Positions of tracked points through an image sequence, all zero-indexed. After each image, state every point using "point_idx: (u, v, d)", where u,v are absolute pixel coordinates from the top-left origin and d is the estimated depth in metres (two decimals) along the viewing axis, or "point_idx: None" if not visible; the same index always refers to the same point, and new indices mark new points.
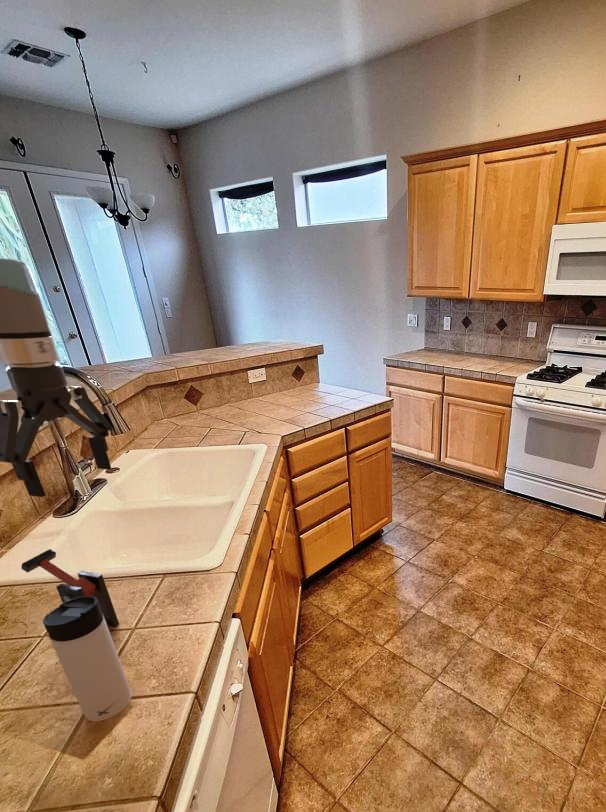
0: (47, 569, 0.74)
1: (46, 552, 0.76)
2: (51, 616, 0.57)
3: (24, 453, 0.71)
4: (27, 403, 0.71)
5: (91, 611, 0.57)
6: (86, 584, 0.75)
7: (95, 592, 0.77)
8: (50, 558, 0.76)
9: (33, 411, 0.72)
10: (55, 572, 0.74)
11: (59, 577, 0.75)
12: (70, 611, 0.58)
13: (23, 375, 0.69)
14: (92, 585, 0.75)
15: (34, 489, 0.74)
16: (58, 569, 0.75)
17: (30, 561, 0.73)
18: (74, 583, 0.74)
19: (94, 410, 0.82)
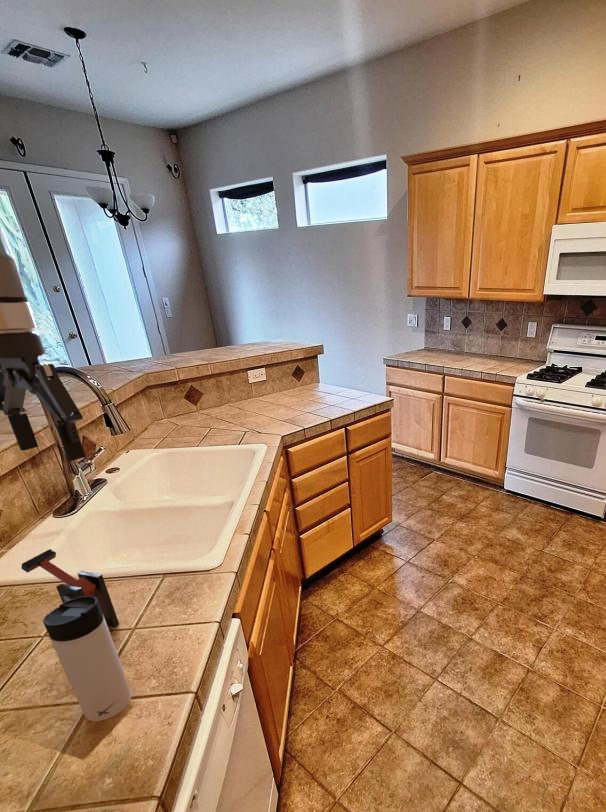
0: (47, 569, 0.74)
1: (46, 552, 0.76)
2: (51, 616, 0.57)
3: None
4: None
5: (91, 611, 0.57)
6: (86, 584, 0.75)
7: (95, 592, 0.77)
8: (50, 558, 0.76)
9: None
10: (55, 572, 0.74)
11: (59, 577, 0.75)
12: (71, 611, 0.58)
13: (36, 339, 0.71)
14: (92, 585, 0.75)
15: (78, 450, 0.77)
16: (58, 569, 0.75)
17: (30, 561, 0.73)
18: (74, 583, 0.74)
19: None
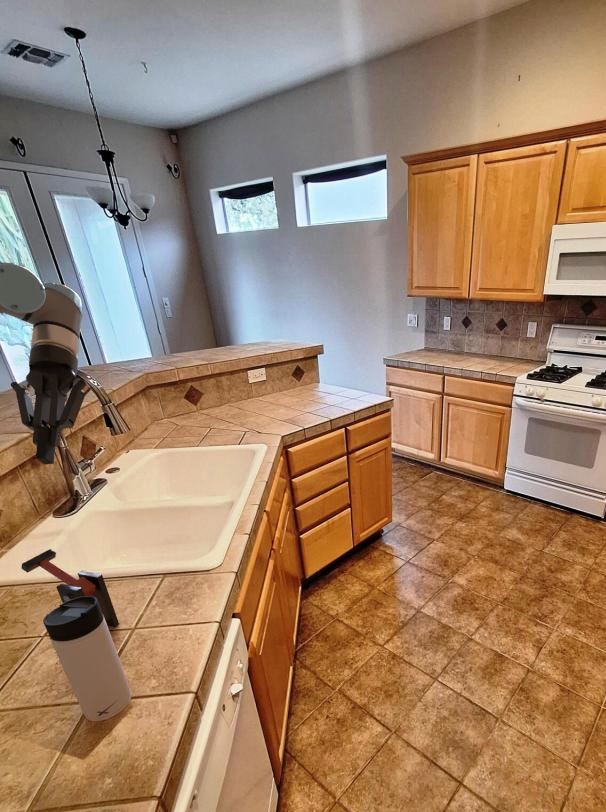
0: (47, 569, 0.74)
1: (46, 552, 0.76)
2: (51, 616, 0.57)
3: None
4: None
5: (91, 611, 0.57)
6: (86, 584, 0.75)
7: (95, 592, 0.77)
8: (50, 558, 0.76)
9: (73, 387, 0.86)
10: (55, 572, 0.74)
11: (59, 577, 0.75)
12: (70, 611, 0.58)
13: (77, 364, 0.88)
14: (92, 585, 0.75)
15: (51, 454, 0.80)
16: (58, 569, 0.75)
17: (30, 561, 0.73)
18: (74, 583, 0.74)
19: None
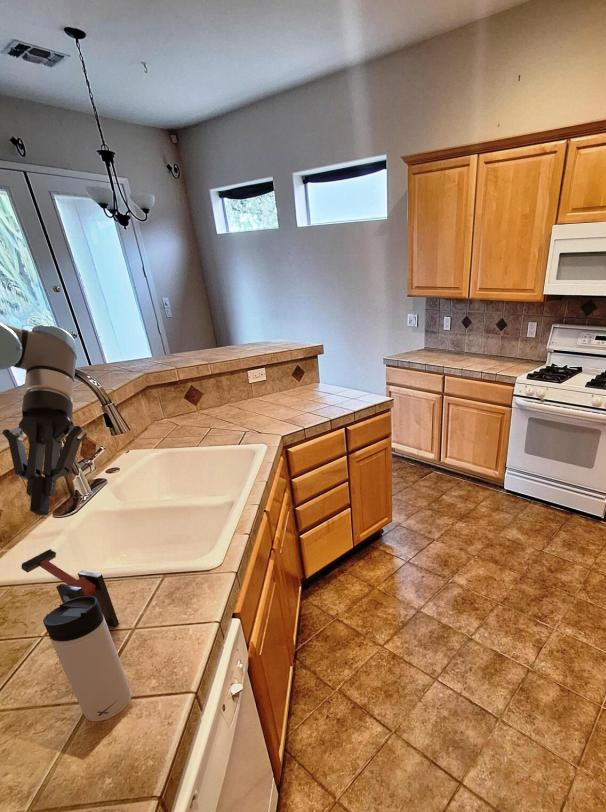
0: (47, 569, 0.74)
1: (46, 552, 0.76)
2: (51, 616, 0.57)
3: None
4: None
5: (91, 611, 0.57)
6: (86, 584, 0.75)
7: (95, 592, 0.77)
8: (50, 558, 0.76)
9: None
10: (55, 572, 0.74)
11: (59, 577, 0.75)
12: (70, 611, 0.58)
13: (72, 408, 0.86)
14: (92, 585, 0.75)
15: (46, 505, 0.78)
16: (58, 569, 0.75)
17: (30, 561, 0.73)
18: (74, 583, 0.74)
19: None
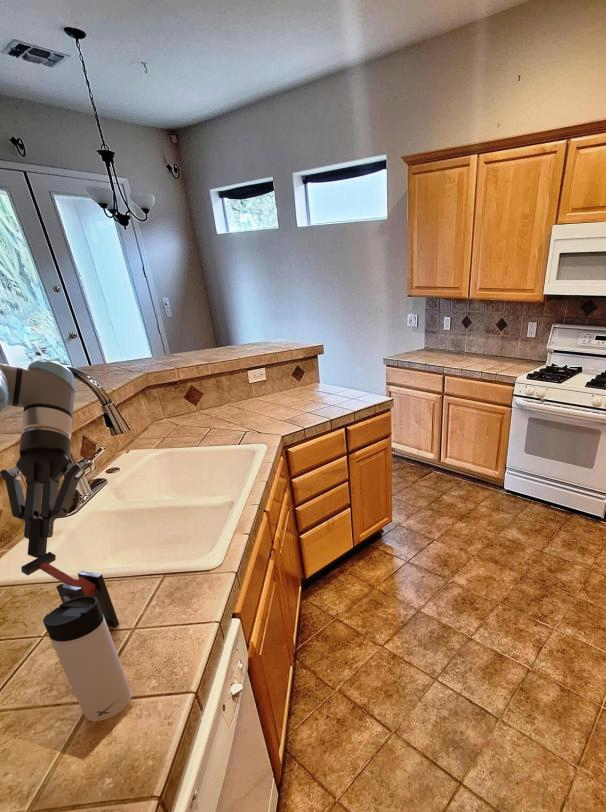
0: (47, 571, 0.75)
1: (46, 555, 0.76)
2: (51, 616, 0.57)
3: None
4: None
5: (91, 611, 0.57)
6: (86, 584, 0.75)
7: (95, 592, 0.77)
8: (50, 561, 0.77)
9: None
10: (55, 573, 0.75)
11: (58, 578, 0.75)
12: (71, 611, 0.58)
13: (70, 445, 0.85)
14: (92, 584, 0.75)
15: (43, 548, 0.77)
16: (58, 571, 0.75)
17: (30, 564, 0.74)
18: (73, 583, 0.74)
19: None
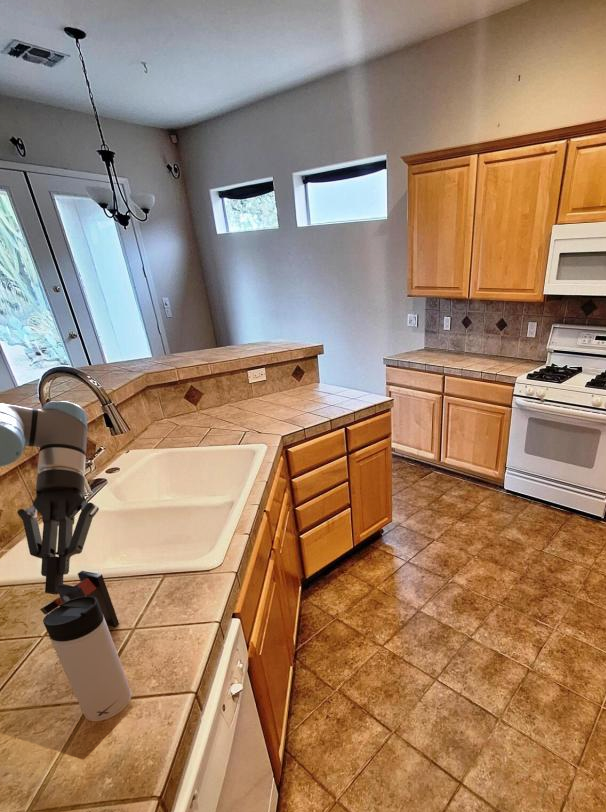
0: (60, 600, 0.77)
1: None
2: (51, 616, 0.57)
3: None
4: None
5: (91, 611, 0.57)
6: (80, 582, 0.75)
7: (95, 592, 0.77)
8: None
9: (80, 508, 0.85)
10: None
11: None
12: (70, 611, 0.58)
13: (84, 482, 0.88)
14: (84, 579, 0.75)
15: None
16: None
17: None
18: None
19: None
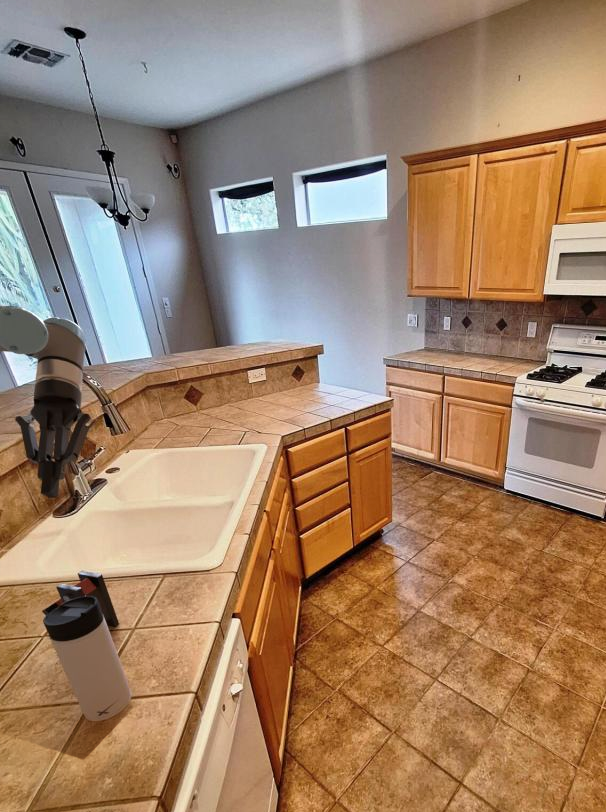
0: (61, 602, 0.77)
1: None
2: (51, 616, 0.57)
3: None
4: None
5: (91, 611, 0.57)
6: None
7: (95, 592, 0.77)
8: None
9: None
10: None
11: None
12: (70, 611, 0.58)
13: None
14: (84, 579, 0.75)
15: (56, 488, 0.82)
16: None
17: None
18: None
19: None
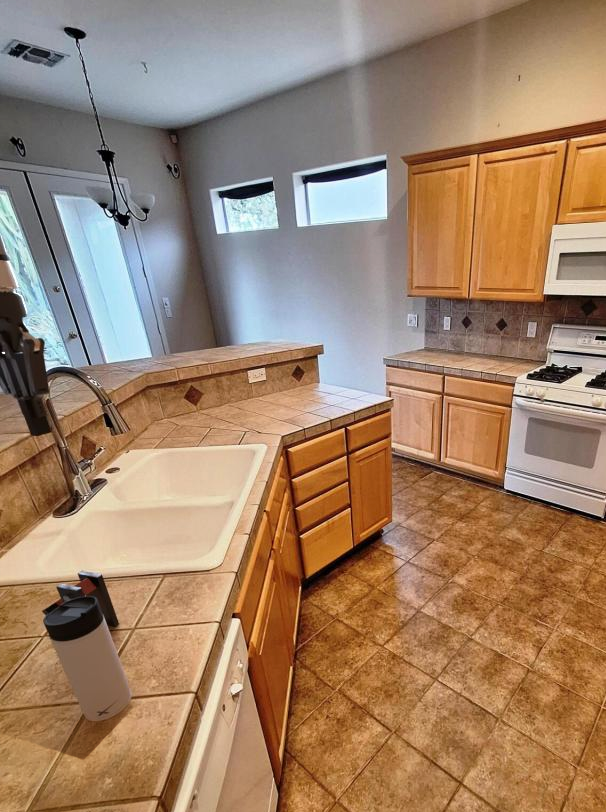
0: (61, 602, 0.77)
1: None
2: (51, 616, 0.57)
3: None
4: None
5: (91, 611, 0.57)
6: None
7: (95, 592, 0.77)
8: None
9: None
10: None
11: None
12: (71, 611, 0.58)
13: (19, 299, 0.70)
14: (84, 579, 0.75)
15: (44, 425, 0.78)
16: None
17: None
18: None
19: None
